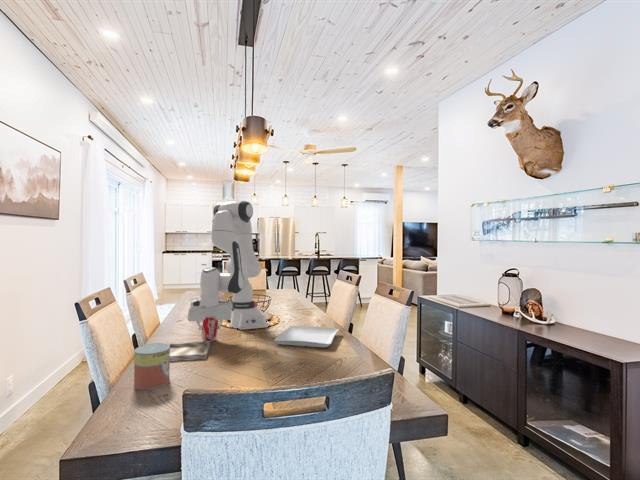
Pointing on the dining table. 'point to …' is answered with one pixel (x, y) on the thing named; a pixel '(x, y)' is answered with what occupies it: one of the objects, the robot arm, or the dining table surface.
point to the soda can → (209, 329)
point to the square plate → (307, 336)
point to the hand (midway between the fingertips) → (209, 329)
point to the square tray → (188, 351)
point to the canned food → (151, 366)
